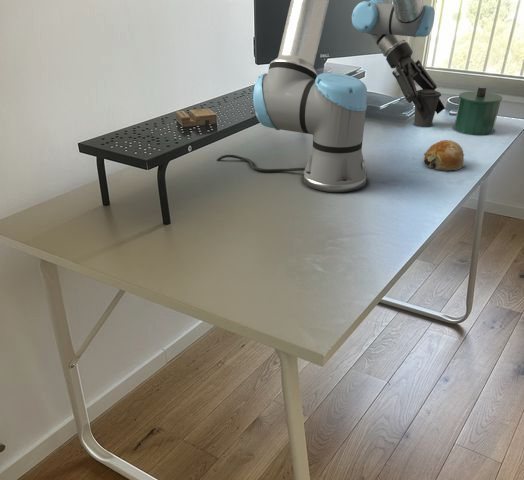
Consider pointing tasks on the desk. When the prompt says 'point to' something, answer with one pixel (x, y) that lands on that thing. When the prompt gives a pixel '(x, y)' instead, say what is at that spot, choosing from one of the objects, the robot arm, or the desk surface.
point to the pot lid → (480, 96)
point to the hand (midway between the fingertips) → (434, 114)
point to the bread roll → (444, 156)
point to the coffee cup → (431, 102)
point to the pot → (476, 117)
